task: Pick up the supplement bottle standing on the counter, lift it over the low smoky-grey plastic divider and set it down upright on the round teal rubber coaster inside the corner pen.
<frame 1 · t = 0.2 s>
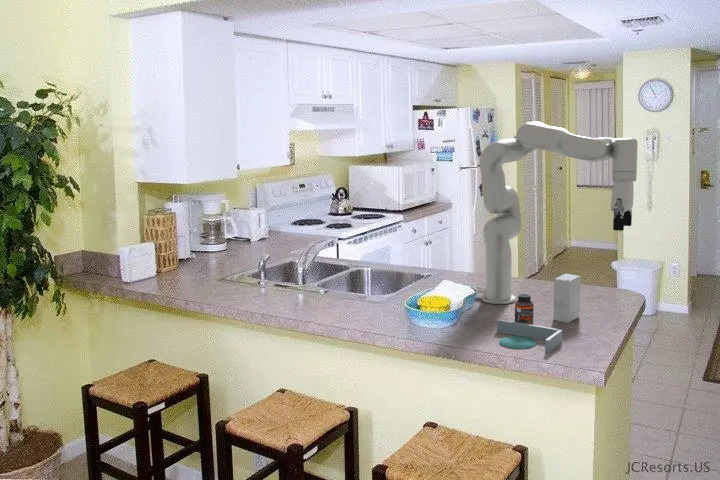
hand: (622, 228, 227), 31 cm above the countertop, tool pointing down, fingers open, 9 cm apart
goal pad: (517, 342, 212), on the countertop
skincare box: (566, 319, 234), on the countertop
divider wall: (526, 336, 218), on the countertop
supplement bottle: (523, 329, 226), on the countertop
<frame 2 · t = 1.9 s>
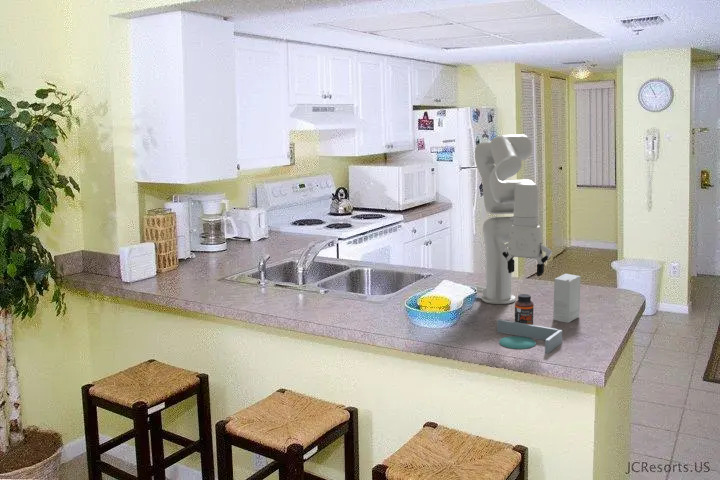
hand: (525, 273, 222), 18 cm above the countertop, tool pointing down, fingers open, 9 cm apart
nothing on the countertop moved.
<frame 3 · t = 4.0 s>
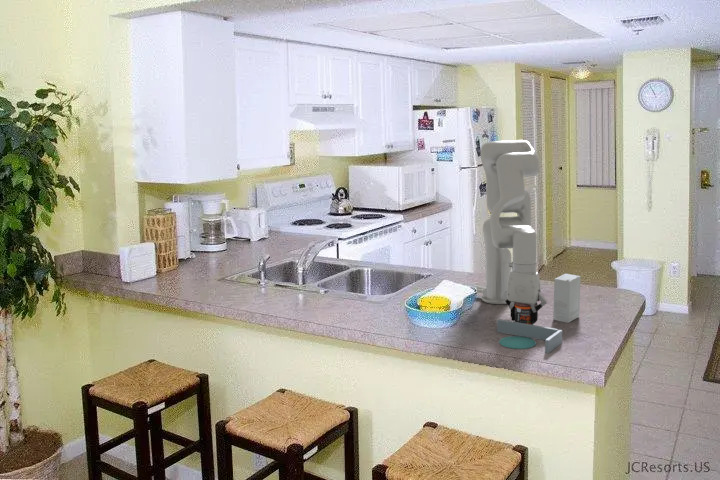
hand: (523, 320, 225), 3 cm above the countertop, tool pointing down, fingers closed on supplement bottle, 6 cm apart
supplement bottle: (523, 329, 226), on the countertop, touching gripper
everything else where it was.
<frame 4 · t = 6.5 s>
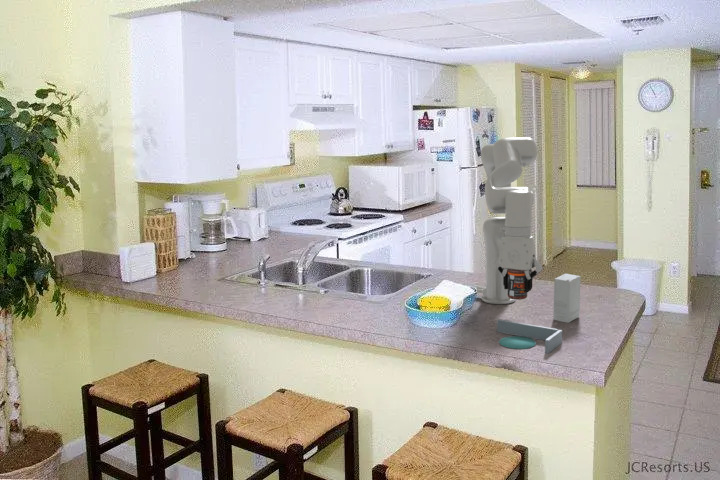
hand: (517, 289, 209), 17 cm above the countertop, tool pointing down, fingers closed on supplement bottle, 6 cm apart
supplement bottle: (517, 298, 210), point 14 cm above the countertop, touching gripper
everything else where it was.
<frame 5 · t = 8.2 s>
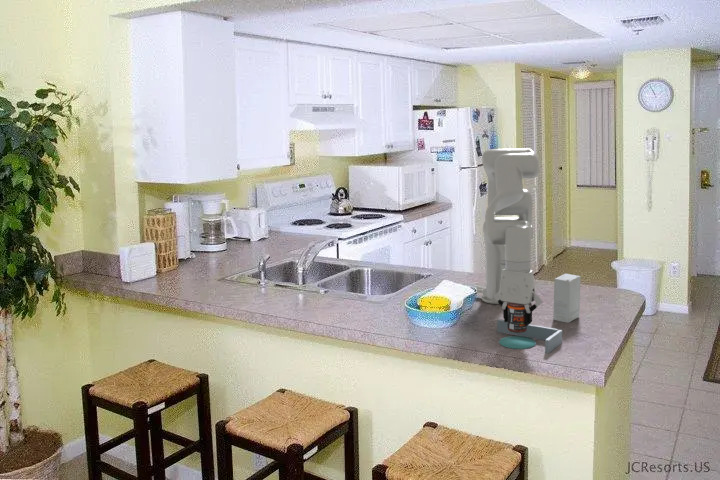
hand: (517, 322, 211), 7 cm above the countertop, tool pointing down, fingers closed on supplement bottle, 6 cm apart
supplement bottle: (517, 331, 212), point 4 cm above the countertop, touching gripper
everything else where it was.
when the fingers open (4 cm above the countertop, at t = 9.3 s): supplement bottle stays where it is, resting on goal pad.
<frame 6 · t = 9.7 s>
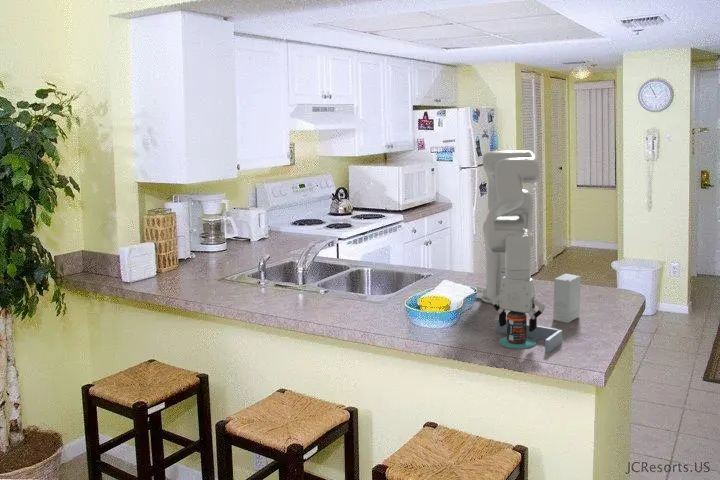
hand: (517, 327, 211), 5 cm above the countertop, tool pointing down, fingers open, 9 cm apart
supplement bottle: (516, 342, 213), resting on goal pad
everything else where it was.
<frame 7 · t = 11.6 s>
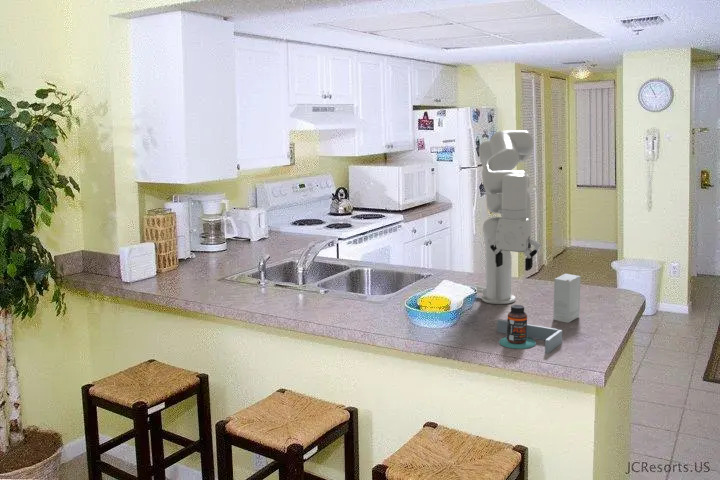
hand: (513, 267, 215), 22 cm above the countertop, tool pointing down, fingers open, 9 cm apart
nothing on the countertop moved.
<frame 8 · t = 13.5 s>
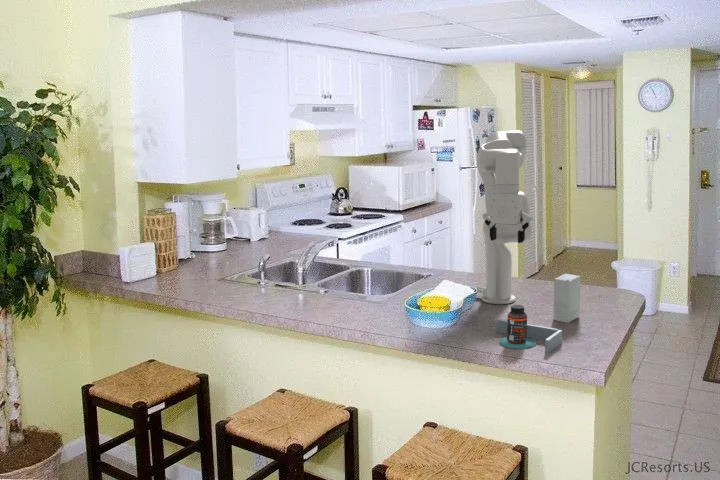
hand: (506, 241, 226), 28 cm above the countertop, tool pointing down, fingers open, 9 cm apart
nothing on the countertop moved.
at the end: supplement bottle 0.4 cm from the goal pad (horizontally); supplement bottle tilted 1°; the gripper is holding nothing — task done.
